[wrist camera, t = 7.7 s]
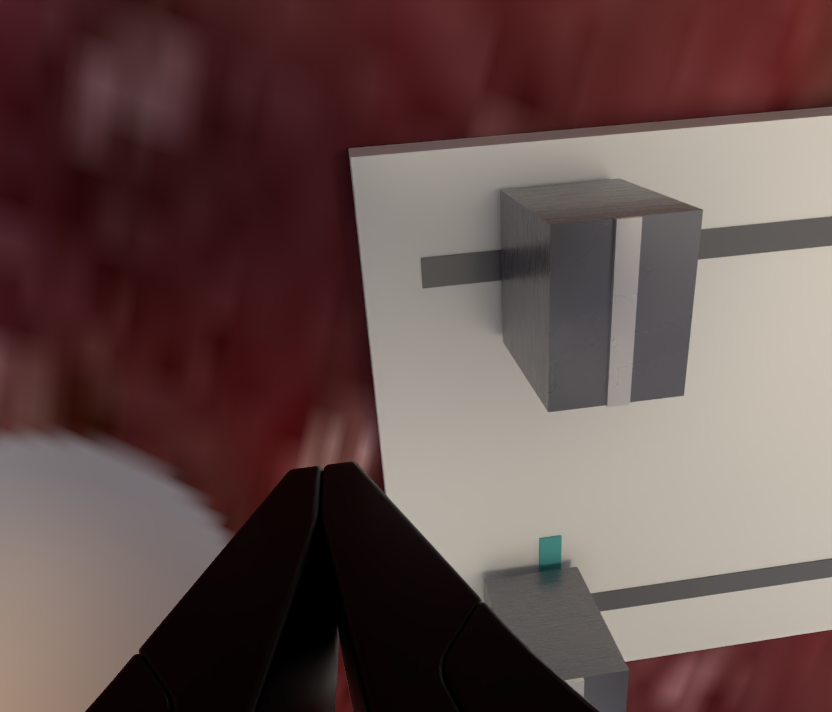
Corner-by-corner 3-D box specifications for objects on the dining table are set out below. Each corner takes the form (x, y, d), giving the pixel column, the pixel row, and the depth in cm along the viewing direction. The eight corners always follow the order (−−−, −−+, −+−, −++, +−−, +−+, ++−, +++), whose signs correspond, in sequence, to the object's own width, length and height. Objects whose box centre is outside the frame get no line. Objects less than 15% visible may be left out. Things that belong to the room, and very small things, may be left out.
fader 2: (573, 658, 23) (622, 774, 19) (487, 672, 23) (519, 792, 19) (577, 566, 21) (630, 673, 17) (484, 579, 21) (518, 691, 17)
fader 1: (611, 329, 18) (686, 397, 14) (502, 341, 18) (549, 414, 14) (619, 178, 16) (705, 211, 13) (499, 189, 16) (551, 225, 12)
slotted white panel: (946, 567, 27) (993, 606, 25) (401, 649, 25) (407, 697, 23) (1100, 83, 20) (1184, 84, 18) (348, 148, 18) (350, 157, 16)
